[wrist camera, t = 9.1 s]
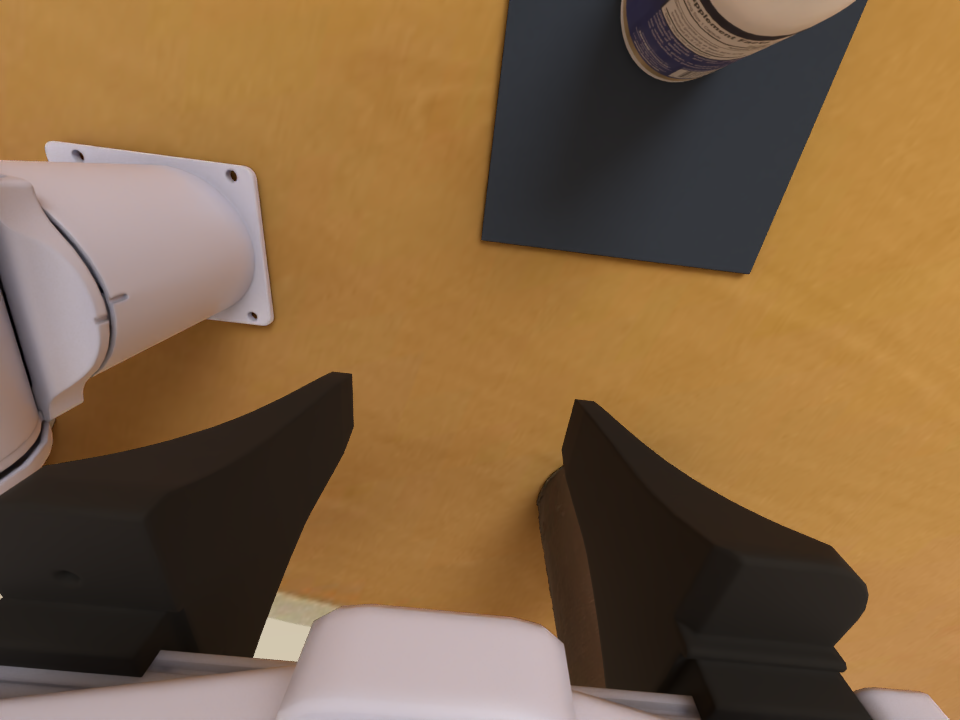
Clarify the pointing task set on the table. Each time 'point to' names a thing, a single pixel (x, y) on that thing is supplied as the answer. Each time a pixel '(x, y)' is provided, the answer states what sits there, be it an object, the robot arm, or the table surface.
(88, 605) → the robot arm
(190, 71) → the table surface
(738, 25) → the pill bottle
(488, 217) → the felt mat
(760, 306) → the table surface
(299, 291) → the table surface
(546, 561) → the pillar candle
